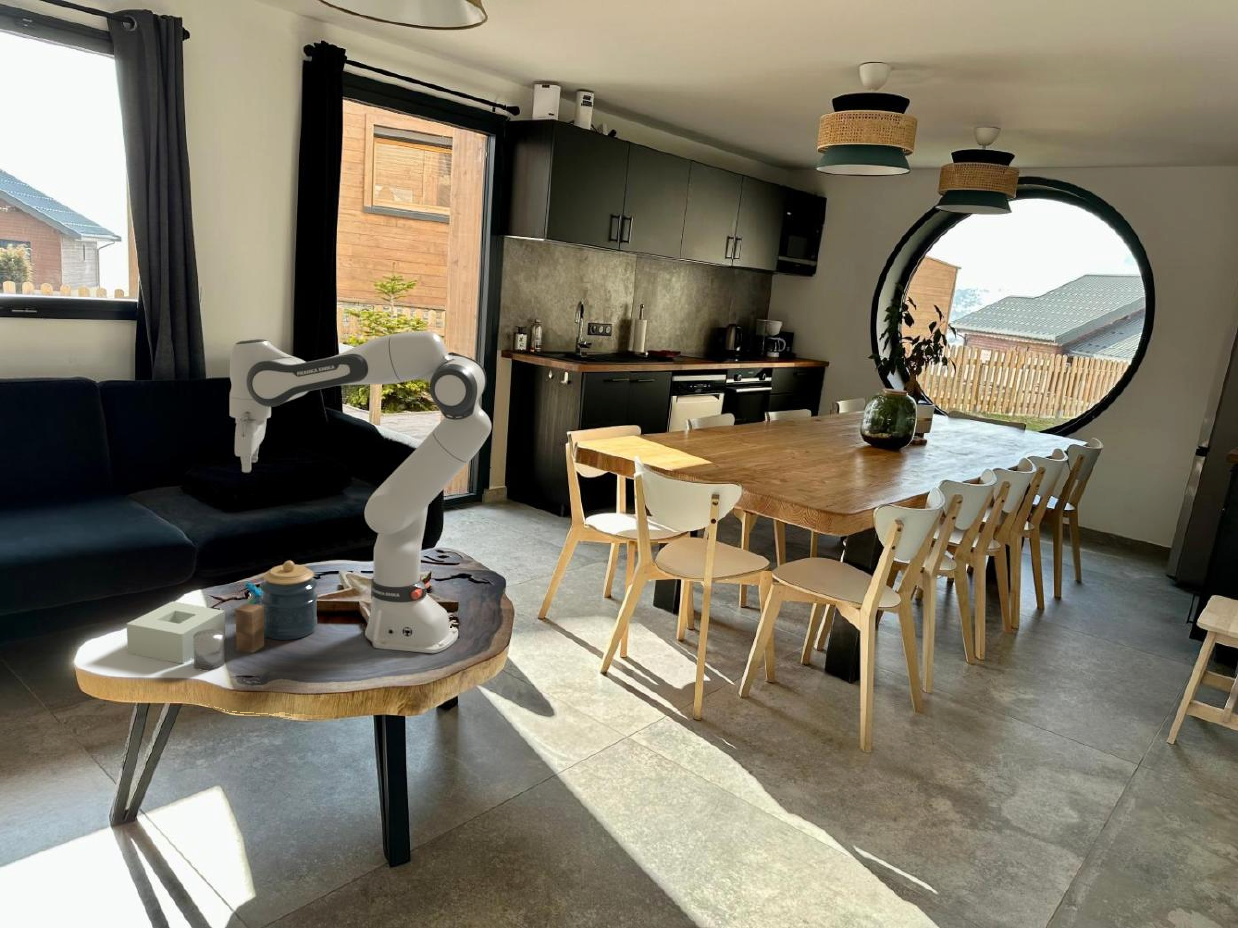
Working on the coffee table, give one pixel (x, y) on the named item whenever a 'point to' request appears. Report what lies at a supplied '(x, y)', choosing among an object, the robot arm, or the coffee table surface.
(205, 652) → the round bit
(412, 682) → the coffee table surface
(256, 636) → the square bit
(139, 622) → the block
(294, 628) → the canister
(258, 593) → the blue irregular piece
